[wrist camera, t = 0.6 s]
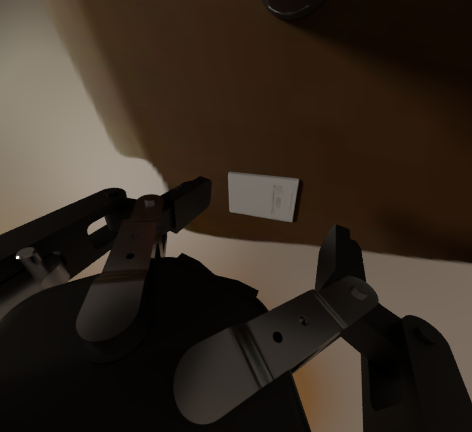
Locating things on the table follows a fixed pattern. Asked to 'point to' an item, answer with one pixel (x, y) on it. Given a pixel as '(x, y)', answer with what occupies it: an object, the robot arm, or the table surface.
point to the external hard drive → (262, 195)
